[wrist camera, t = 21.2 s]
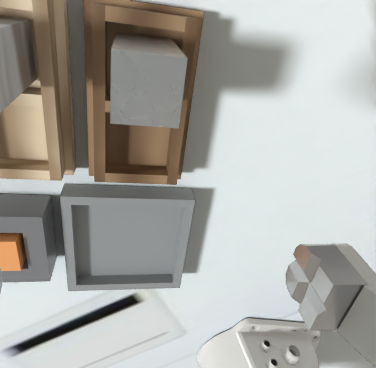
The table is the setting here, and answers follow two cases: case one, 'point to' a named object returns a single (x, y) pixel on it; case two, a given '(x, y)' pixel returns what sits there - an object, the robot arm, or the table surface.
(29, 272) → the button console
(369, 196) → the table surface
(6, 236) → the button
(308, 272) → the robot arm
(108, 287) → the tray
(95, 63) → the pallet
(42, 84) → the tray
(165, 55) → the block
